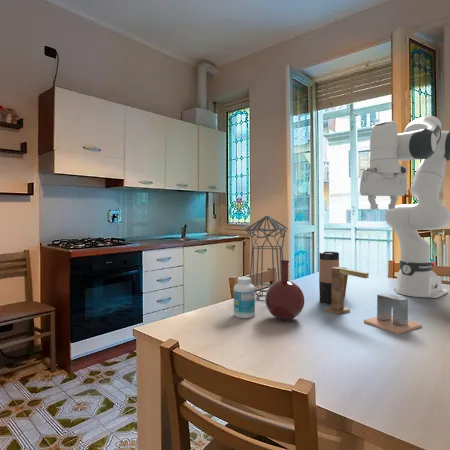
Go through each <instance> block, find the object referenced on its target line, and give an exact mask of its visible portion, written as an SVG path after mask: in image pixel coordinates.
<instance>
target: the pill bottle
mask: <svg viewBox="0 0 450 450" xmlns="http://www.w3.org/2000/svg"><path fill="white" fill-rule="evenodd" d="M236 280H237V283H236V284H235V285H234V286H233V315H234V316H235V318H239V319H251V318H253V317H255V316H256V315H255V314H256V294H255V289H256V288H255V287H256V286H255V287H254V285H255V284H254V285H253V284H252V277H251V278H250V276H239V277H237V279H236ZM250 282H251V283H250Z"/></svg>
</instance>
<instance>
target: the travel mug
mask: <svg viewBox="0 0 450 450" xmlns="http://www.w3.org/2000/svg"><path fill="white" fill-rule="evenodd" d="M318 254H319V257H318V260H319V262H318V263H319V264H318V267H319V269H318V270H319V271H318V286H319V287H318V289H319V290H318V291H319V303H321V304H322V305H326V306H327V305H328V306H332V267H340V253H339V252H337V251H324V252H319V253H318Z"/></svg>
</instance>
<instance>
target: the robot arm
mask: <svg viewBox="0 0 450 450" xmlns="http://www.w3.org/2000/svg"><path fill="white" fill-rule="evenodd" d="M369 139H370V140H369V150H370V158H369V167H365V168H364V169H363V170H362V174H361V178H360V182H359V194H360V196H362V197H363V196H365V197H367V200H368V202H369V204H370V210H378V207H379V204H378V203H377V202H376V200H377V197H389V199H390V201H389V203H388V206H387V207H388V209H387V210H386V212H385V222H386V224H387V225H388V226H389V227H390V228H392V229H393V231H394V232H395V233H396V235H397V239H398V241H399V245H400V248H399V249H400V260H399V265H398V266H399V270H398V271H397V274H396V275H397V277H396V283H395V284H396V286H394V287H393V290H395V292H396V293H397V294H400V295H402V296H407V297H414V298H429V299H431V298H432V299H437V298H440V297H443V296H444V295H446V294H448V293H449V291H448V289H445V288H443V287H442V286H443V282H442V279H441V277H439V276H438V275H437V274H436V272H434V271H433V267H436V265H437V264H436V262H435V261H431V245H430V243H429V242H428V241H427V240H426V239H425V238H423V237H421V236H420V234H419V232H418V230H420V231H421V230H422V231H423V230H424V231H433V230H434V231H435V230H442V229H444V228H446V227H447V226H448V224H449V222H450V212H449V209H448V208H447V207H446V206H445V205H443V204H442V202H441V201H440V197H439V196H440V191H441V187H442V184H443V181H444V177H445V171H446V162H447V161H448V162H449V161H450V130H442V122H441V120H440V119H439V118H438V117H436V116H435V115H425V116H421V117H419V118H416V119H414V120H412V121H411V122H409V123H408V124H407V126H406V127H405V128H404V130H403V132H402V133H399V132H398V125H397V122H396V121H395V120H388V121H381V122H378V123H375V124H373V125H372V127H371V132H370V137H369ZM412 160H421V162H420V163H419V165H418V167H417V169H416V171H415V174H414V177H413V180H412V182H411V185H410V188H409V190H410V194H411V196H412V197H413V198H414V199H415V200H417V203H412V204H411V203H410V204H409V203H406V204H405V203H404V204H402V203H400V204H397V202H398V200H399V197H404V196H405V195H406V193H407V186H408V185H407V177H406V175H408V168H407V167H405V166H403V165H402V164H401V163H399V162H403V161H404V162H405V161H412ZM396 204H397V205H396Z"/></svg>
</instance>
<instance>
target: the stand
mask: <svg viewBox="0 0 450 450" xmlns="http://www.w3.org/2000/svg"><path fill="white" fill-rule="evenodd" d="M341 267H342V266H339V267H332V305H330V306H326V307H325V311H326V312H329V313H332V314H334V315H342V314H343V315H344V314H347V313H350V312H351V309H350V308H347V307H345V303H344V302H345V297H344V274H346V275H348V276H350V277H351V276H353V277H356V278H362V279H369V272H365V271H358V270H354V269H349V268H348V269H344V268H345V267H344V268H341Z"/></svg>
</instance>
